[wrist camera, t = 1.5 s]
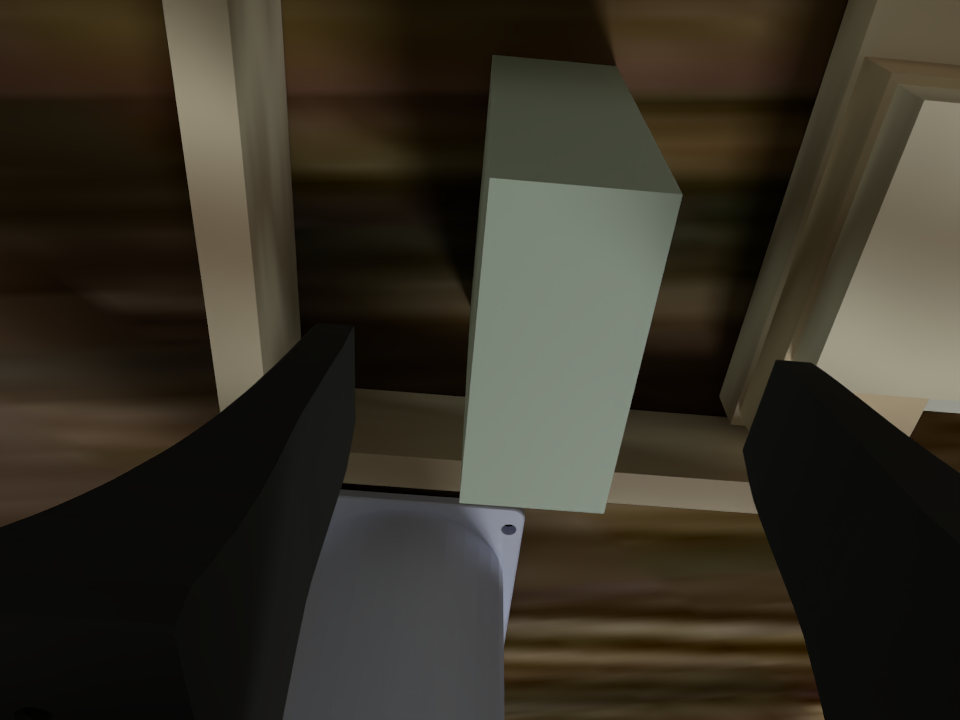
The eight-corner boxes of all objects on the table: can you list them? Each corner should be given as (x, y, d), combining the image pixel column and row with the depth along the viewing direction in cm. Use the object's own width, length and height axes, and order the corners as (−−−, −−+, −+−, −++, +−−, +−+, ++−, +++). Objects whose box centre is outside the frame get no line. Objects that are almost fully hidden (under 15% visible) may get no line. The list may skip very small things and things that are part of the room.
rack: (838, 454, 25) (889, 548, 22) (268, 411, 25) (232, 500, 21) (1101, -114, 16) (1256, -101, 13) (209, -204, 16) (131, -215, 12)
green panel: (572, 313, 22) (603, 513, 16) (470, 305, 22) (459, 502, 16) (616, 66, 18) (682, 194, 12) (492, 54, 18) (489, 177, 12)
